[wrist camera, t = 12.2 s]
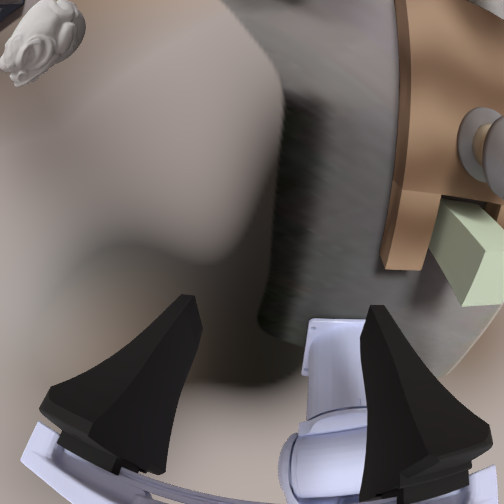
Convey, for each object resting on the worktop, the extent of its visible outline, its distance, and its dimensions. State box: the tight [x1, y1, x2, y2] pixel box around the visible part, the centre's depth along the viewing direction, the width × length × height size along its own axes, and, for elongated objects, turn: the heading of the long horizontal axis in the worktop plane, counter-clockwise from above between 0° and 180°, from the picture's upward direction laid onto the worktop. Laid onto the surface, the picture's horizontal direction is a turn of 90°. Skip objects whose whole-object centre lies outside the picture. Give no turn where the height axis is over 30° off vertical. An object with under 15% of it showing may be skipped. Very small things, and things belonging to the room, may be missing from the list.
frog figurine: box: [0, 0, 86, 87], centre depth 10 cm, size 6×7×7 cm
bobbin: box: [457, 107, 504, 200], centre depth 10 cm, size 5×5×4 cm
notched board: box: [379, 0, 504, 270], centre depth 13 cm, size 20×12×2 cm, turn 3°
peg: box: [428, 199, 504, 306], centre depth 14 cm, size 4×4×7 cm
